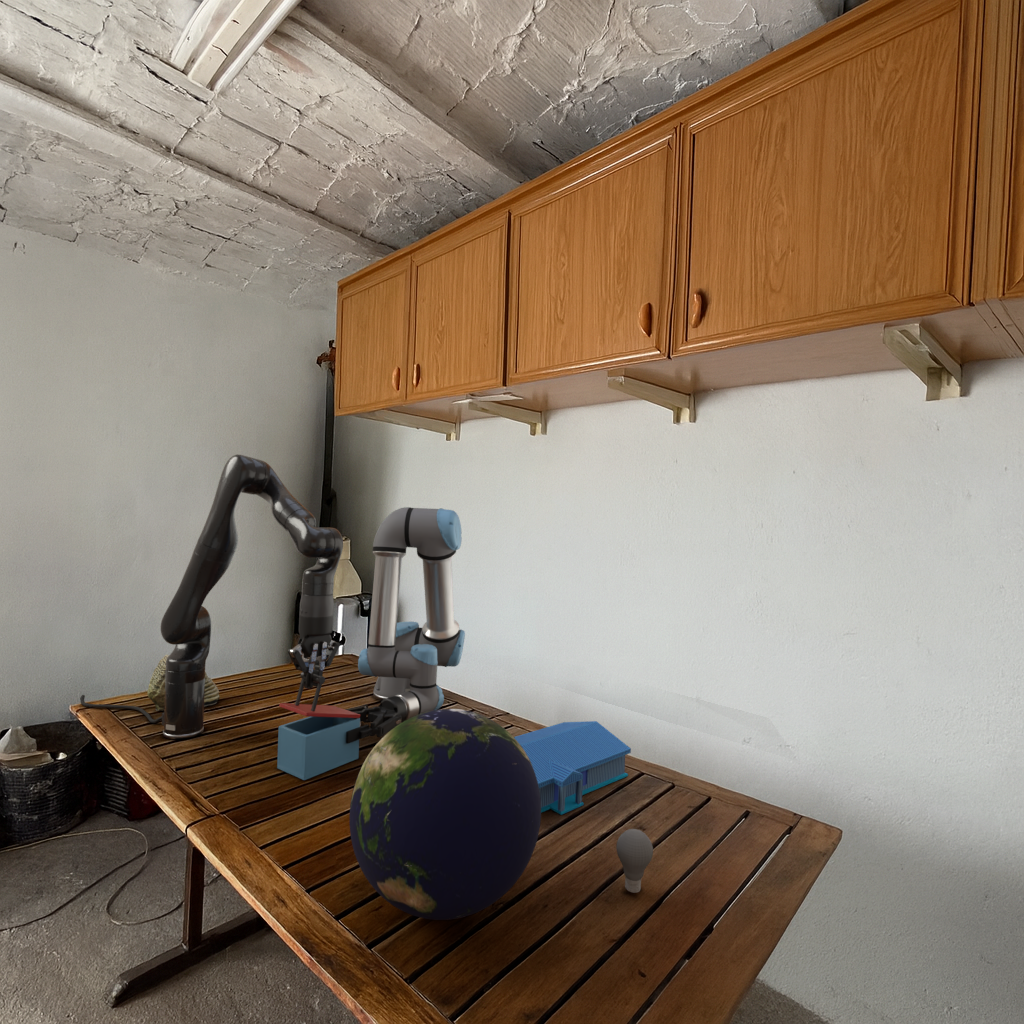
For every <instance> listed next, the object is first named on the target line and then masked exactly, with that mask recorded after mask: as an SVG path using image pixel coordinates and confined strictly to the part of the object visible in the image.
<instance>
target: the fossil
mask: <svg viewBox="0 0 1024 1024" xmlns="http://www.w3.org/2000/svg"><path fill="white" fill-rule="evenodd" d="M169 655H170V654H165V655H164V656H163V657H162V658H161V659H160V660H159V662H158V663H157V666H156V667H155V669H154V670H153V672H152V675H151V677H150V680H149V684H148V688H147V697H148V699H149V700H150V701H152V703H153V704H154V706H155V711H158V712H159V711H162V712H163V711H164V705H165V674H166V659H167V657H168V656H169ZM220 698H221V696H220V690H219V688H218V686H217V685H216V683H215V682H214V681H213V679H212V678H211V677H209V675H208V674H207V672H206V671H205V693H204V707H207V706H213V705H215V704H217V703H218V701H219V699H220Z"/></svg>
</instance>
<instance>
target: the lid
mask: <svg viewBox="0 0 1024 1024" xmlns="http://www.w3.org/2000/svg"><path fill="white" fill-rule="evenodd" d="M313 682H315V683H318V685H317V687H316V689H315V692H314V697H313V701H312V704H309V703H308V704H307V703H301V699H302V695H303V691H304V688H305V687H304V686H303V671H301V673H300V684H299V687H298V692H297V695H296V698H295V699H296V700H295V702H294V703H288V702H280V703H279V705H278V707H279V708H282V709H285V710H288V711H290V712H293V713H296V714H298V715H302V716H305V717H310V716H311V717H342V718H360V714H357V713H354V712H351V711H348V710H345V709H346V708H342V707H339V706H335V705H329V704H328V705H326V704H318V702H319V701H318V700H319V696H320V693H321V690H322V686H323V685H324V683H325V682H326V677H325V676H319V675H316V674H313Z"/></svg>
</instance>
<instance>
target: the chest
mask: <svg viewBox="0 0 1024 1024" xmlns="http://www.w3.org/2000/svg"><path fill="white" fill-rule="evenodd" d="M358 727H361V725H360V718H342V717H311V716H306V717H303V718H300V719H298V720H294V721H290V722H288V723H284V724H280V725H278V733H277V734H278V735H277V761H276V763H277V766H276V769H278V770H280V771H282V772H284V773H287V774H289V775H290V776H291V775H292V776H293V777H296V778H298V779H300V780H302V781H306V780H309V779H311V778H314V777H316V776H320V775H322V774H324V773H326V772H328V771H332V770H333V769H337V768H338V767H341V766H343V765H346V764H348V763H350V762H353V761H355V760H359V757H360V756H359V754H360V739H359V740H357V741H354V742H351V743H349V744H347V743H346V732H347V731H350V730H352V729H355V728H358Z"/></svg>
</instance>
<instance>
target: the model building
mask: <svg viewBox="0 0 1024 1024" xmlns="http://www.w3.org/2000/svg"><path fill="white" fill-rule="evenodd" d="M513 737H514V738H515V739H516V740H517V742H518V743H519V744H520V745H521V746H522V748H523V749H524V751H525V753H526V754H527V756H528V758H529V759H530V761H531V764H532V767H533V769H534V772H535V775H536V778H537V781H538V786H539V791H540V799H541V814H542V813H544V812H546V811H549V810H551V811H553V812H554V813H557V814H559V815H561V816H562V815H564V814H567V813H569V812H571V811H574V810H576V809H578V808H581V807H583V806H584V805H585V802H583V796H584V795H587V794H589V793H590V792H594V791H596V790H598V789H601V788H603V787H605V786H608V785H610V784H612V783H615V782H617V781H619V780H621V779H624V778H627V777H628V776H629V774H628V773H627V772H625V770H626V769H625V768H626V755H629V754H631V753H632V748H631V747H629V746H628V745H627V744H626V743H625V742H623V741H622V740H621V739H619V737H617V736H616V735H614V734H613V733H612V732H610V730H609V729H607V728H606V727H604V726H603V725H602V724H600V722H598V721H597V720H593V721H591V720H589V721H587V720H586V721H564V722H560V723H556V724H553V725H550V726H546V727H543V728H540V729H536V730H532V731H529V732H526V733H523V734H519V735H516V736H513Z"/></svg>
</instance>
